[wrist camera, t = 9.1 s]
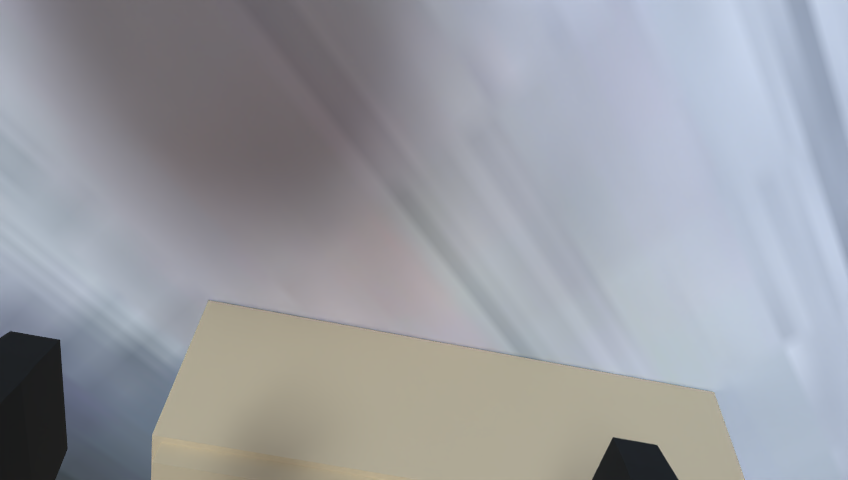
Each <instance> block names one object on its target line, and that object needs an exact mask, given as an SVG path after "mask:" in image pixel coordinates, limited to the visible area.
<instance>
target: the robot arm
mask: <svg viewBox="0 0 848 480" xmlns="http://www.w3.org/2000/svg"><path fill="white" fill-rule="evenodd" d="M66 451H67V435H66V420H65V406H64V392H63V377H62V363H61V348H60V340H57V339H52V338H46V337H40V336H35V335H29V334H23V333H18V332H12V331H10V332H9V333H7V334H5V335H4V336H2V337H1V338H0V480H55V479H56V476H57V474H58V471H59V469H60V466H61V464H62V461H63V459H64V456H65V454H66ZM592 480H678V478H677V476H676V475H675V473H674V471H673V470H672V468H671V466H670V465H669V463H668V462H667V460H666V458H665V457H664V455H663V453H662V452H661V450H660V449H659V447H658V445H655V444H649V443H644V442H638V441H632V440H627V439H621V438H615V437H613V438H612V440H611V442H610V444H609V446H608V448H607V450H606V452H605V454H604V456H603V458H602V460H601V462H600V464H599V466H598V468H597V470H596V472H595V474H594V476H593V479H592Z"/></svg>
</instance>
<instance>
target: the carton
mask: <svg viewBox="0 0 848 480" xmlns="http://www.w3.org/2000/svg"><path fill="white" fill-rule="evenodd" d="M613 437H615V438H621V439H627V440H632V441H638V442H644V443H649V444H655V445H658V447H659V449H660V450H661V452H662V453H663V455H664V457H665V458H666V460H667V462H668V463H669V465H670V466H671V468H672V470H673V471H674V473H675V475H676V476H677V478H678V480H745V479H744V476H743V473H742V470H741V467H740V464H739V462H738V459H737V456H736V453H735V450H734V447H733V445H732V442H731V439H730V436H729V433H728V431H727V428H726V425H725V422H724V419H723V416H722V414H721V411H720V408H719V405H718V402H717V399H716V397H715V394H714V392H710V391H704V390H699V389H693V388H688V387H682V386H677V385H671V384H666V383H660V382H655V381H649V380H644V379H638V378H633V377H627V376H622V375H616V374H611V373H606V372H600V371H595V370H589V369H584V368H578V367H573V366H567V365H562V364H556V363H551V362H545V361H540V360H534V359H529V358H523V357H518V356H512V355H507V354H501V353H496V352H490V351H485V350H479V349H474V348H468V347H463V346H457V345H452V344H446V343H441V342H435V341H430V340H424V339H419V338H413V337H408V336H402V335H397V334H391V333H386V332H380V331H375V330H369V329H364V328H358V327H353V326H347V325H342V324H336V323H331V322H325V321H320V320H314V319H309V318H303V317H298V316H292V315H287V314H281V313H276V312H270V311H265V310H259V309H254V308H248V307H243V306H237V305H232V304H226V303H221V302H215V301H210V300H208V303H207V305H206V308H205V310H204V312H203V315H202V317H201V320H200V322H199V324H198V327H197V329H196V332H195V334H194V336H193V339H192V341H191V343H190V346H189V348H188V351H187V353H186V355H185V358H184V360H183V363H182V365H181V367H180V370H179V372H178V375H177V377H176V379H175V382H174V384H173V387H172V389H171V391H170V394H169V396H168V398H167V401H166V403H165V406H164V408H163V410H162V413H161V415H160V418H159V420H158V422H157V425H156V427H155V430H154V432H153V434H152V474H151V480H592V479H593V476H594V474H595V472H596V470H597V468H598V466H599V464H600V462H601V460H602V458H603V456H604V454H605V452H606V450H607V448H608V446H609V444H610V442H611V440H612V438H613Z"/></svg>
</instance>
